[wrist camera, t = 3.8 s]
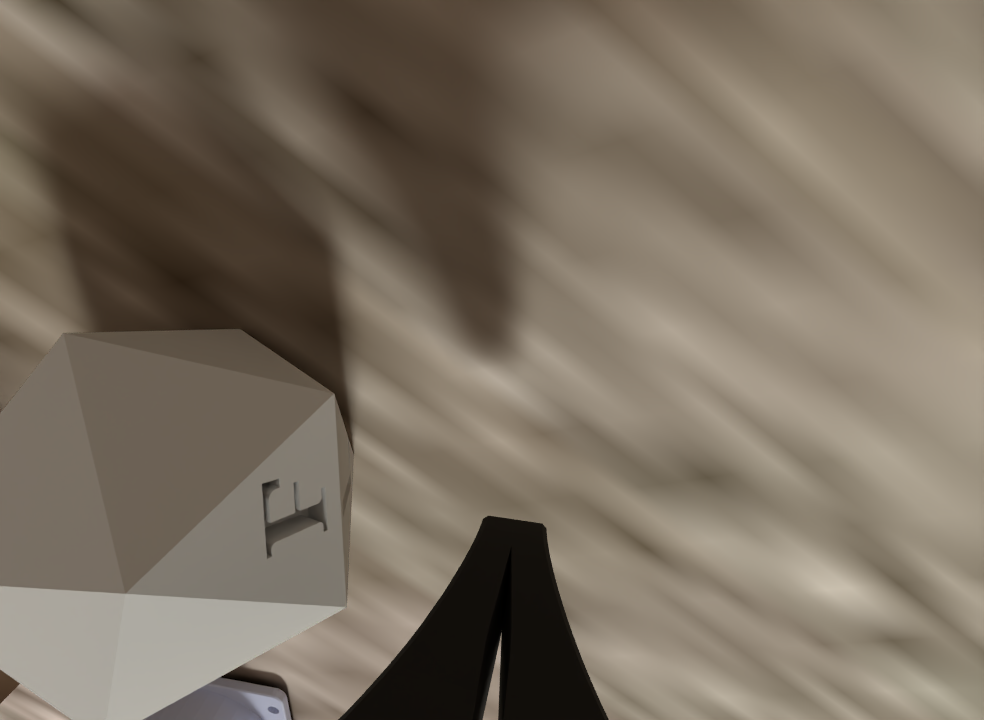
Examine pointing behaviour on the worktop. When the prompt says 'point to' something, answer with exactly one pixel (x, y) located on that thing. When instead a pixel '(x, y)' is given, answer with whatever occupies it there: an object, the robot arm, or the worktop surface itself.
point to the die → (165, 516)
